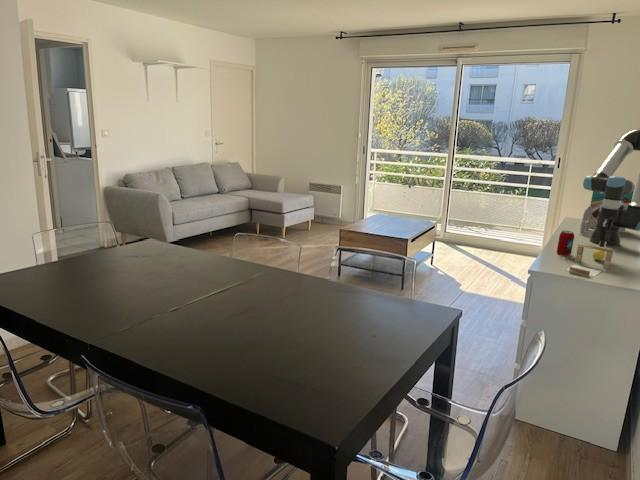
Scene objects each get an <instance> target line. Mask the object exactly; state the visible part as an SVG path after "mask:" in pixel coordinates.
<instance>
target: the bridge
mask: <svg viewBox="0 0 640 480" xmlns="http://www.w3.org/2000/svg"><path fill="white" fill-rule="evenodd" d="M584 249H591V250H594V251H595V250H600V251H605V252H604V253H605V258H604V263H603V266H602V267H603V269H606V270H609V269H610V268H611V263H612V257H613V253H614V248H608V247H599V245H592V244H588V243H583V242H579V243H578V245H577V250H576V255H575V260H574V262H575V263H581V262H582V258H583V253H584Z"/></svg>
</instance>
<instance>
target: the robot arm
mask: <svg viewBox="0 0 640 480" xmlns="http://www.w3.org/2000/svg"><path fill="white" fill-rule="evenodd" d="M634 151H638V152H640V128H635V129H632V130H630V131H628V132H626V133H625V134H623V135H622V136H620V137H619V138H618V139H617V140H616V141H615V143H614V147H613V149H612V150H611V151H610V153H609V154H608V155H607V157H606V158H605V159H604V161H603V162H602V163H601V165H600V166H599V167H598V169H597V170H596V172H595V173H593V175H587V176H585V177H584V178H583V181H582V186H583V189H584V190H587V191H591V192H593V191H598V192H605V195H604V200H602V202H603V204H601V206H600V209H599V214H598V219H597V224H596V228H594V229H593V230H594V232H593V233H592V235H591V236H589V237H590V238H589V241H590V242H592V243H593V244H597V245H598V246H599V247H605V248H607V246H610V247H611V246H612V247H618V246H620V244H621V235H620V232H619V228H620V227H621V228H626V229H628V230H632V231H635V232H637V231H638V232H640V172H639V174H638V178H637V181H636V185H635V184H634V182H633V181H632V180H631V179H626V178H625V177H624V176H617V175H615V176H614V174H615V173H616V171H617V170H618V168H619V167H620V166H621V165H622V163H623V162H624V160H625V159H626V157H627V156H628V155H631V154H632V153H633V152H634ZM634 185H635V188H634ZM633 190H634V192H633V197H632V201H631V203H629V204H628V207H624V206H625V204H623V203H621V199H622V195H628V194H630V193H631V192H632V191H633ZM604 253H606V252H605V251H604Z"/></svg>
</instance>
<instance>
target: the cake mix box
mask: <svg viewBox="0 0 640 480" xmlns="http://www.w3.org/2000/svg"><path fill="white" fill-rule="evenodd" d="M635 189H636V185H635V184H634V190H633V191H632V192H631V193H630V194H628V195H622V199H621V203H623V204H625V206H624V207H628V204H629V203H631V202H632V201H633V197H634V193H635ZM604 195H605V192H598V191H592V194H591V200H590V204H589V206H592V215H591V223H590V226H589V229H595V228H596V224H597V219H598V214H599V209H600V206H601V204H603V202H602V200H604ZM626 229H627V228H621V227H620V228H619V233H623V234H624V233H625V232H626Z"/></svg>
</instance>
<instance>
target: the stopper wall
mask: <svg viewBox="0 0 640 480" xmlns="http://www.w3.org/2000/svg"><path fill="white" fill-rule="evenodd" d="M569 268H570V270H569V271H568V273H570V274H574V275H578V276H583V277H586V278H589V277H590V276H589V274H590V271H588V270H584V269H579V268H575V267H571V266H569Z"/></svg>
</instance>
